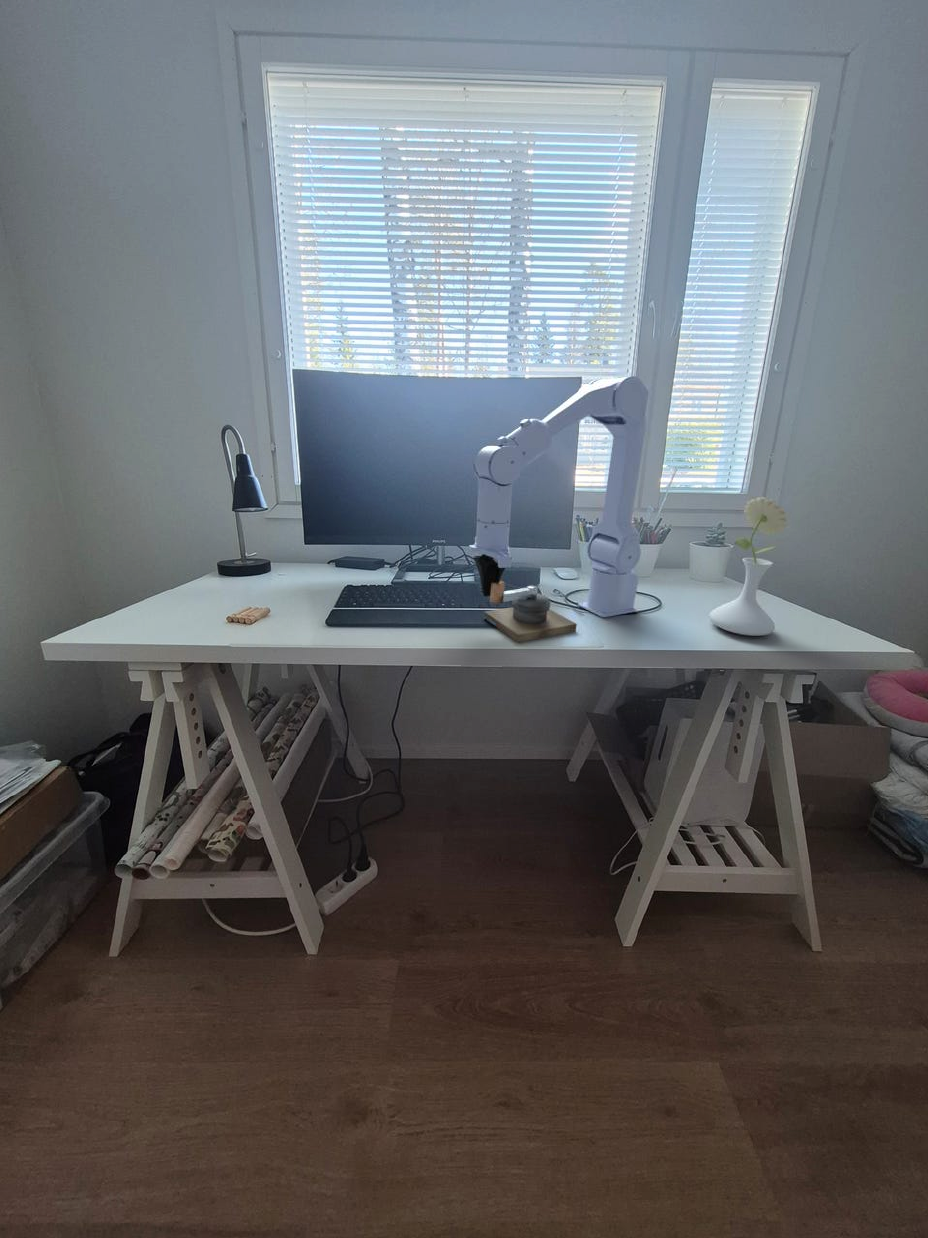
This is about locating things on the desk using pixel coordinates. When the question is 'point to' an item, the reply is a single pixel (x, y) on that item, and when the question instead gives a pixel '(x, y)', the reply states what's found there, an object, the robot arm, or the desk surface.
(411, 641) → the desk surface
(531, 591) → the hammer
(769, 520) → the flower in vase
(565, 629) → the wooden base with cylinder
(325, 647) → the desk surface
